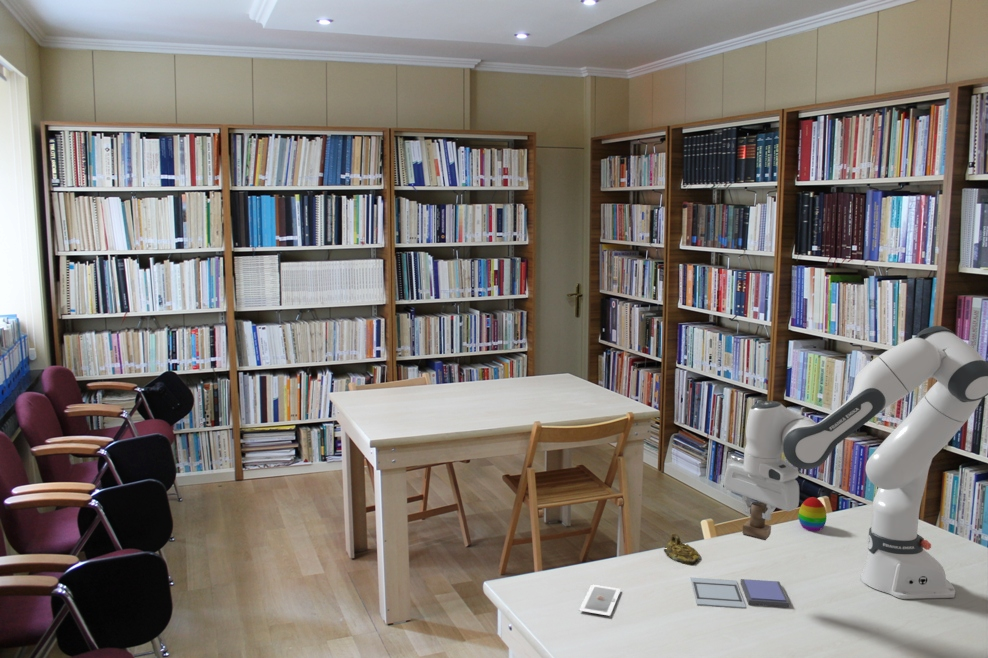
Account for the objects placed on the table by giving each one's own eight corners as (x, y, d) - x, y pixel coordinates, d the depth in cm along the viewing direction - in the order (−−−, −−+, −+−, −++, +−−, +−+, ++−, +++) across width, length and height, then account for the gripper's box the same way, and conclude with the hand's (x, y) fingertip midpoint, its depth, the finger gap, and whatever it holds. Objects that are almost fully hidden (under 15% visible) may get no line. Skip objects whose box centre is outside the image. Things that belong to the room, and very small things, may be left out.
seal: (707, 568, 228) (684, 546, 242) (710, 552, 227) (686, 531, 242) (677, 567, 226) (655, 545, 240) (679, 551, 225) (658, 530, 240)
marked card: (735, 581, 217) (735, 579, 217) (745, 608, 202) (745, 606, 202) (690, 578, 218) (690, 577, 218) (696, 604, 204) (696, 603, 204)
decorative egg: (823, 534, 249) (825, 504, 247) (795, 529, 253) (797, 499, 251) (827, 526, 256) (829, 496, 254) (800, 521, 260) (802, 491, 258)
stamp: (770, 535, 206) (772, 505, 205) (765, 541, 203) (768, 509, 202) (747, 530, 210) (749, 499, 208) (742, 535, 206) (744, 504, 205)
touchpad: (578, 614, 199) (578, 606, 199) (591, 588, 213) (591, 580, 213) (609, 620, 197) (610, 611, 197) (620, 592, 211) (621, 585, 211)
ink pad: (779, 585, 214) (779, 580, 214) (789, 607, 203) (789, 601, 202) (740, 583, 216) (740, 578, 215) (748, 604, 204) (748, 599, 204)
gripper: (720, 455, 210) (716, 506, 212) (789, 478, 194) (785, 532, 196) (735, 451, 214) (731, 501, 216) (804, 473, 197) (800, 526, 200)
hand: (757, 516), depth 206 cm, fingers closed on stamp, 4 cm apart
